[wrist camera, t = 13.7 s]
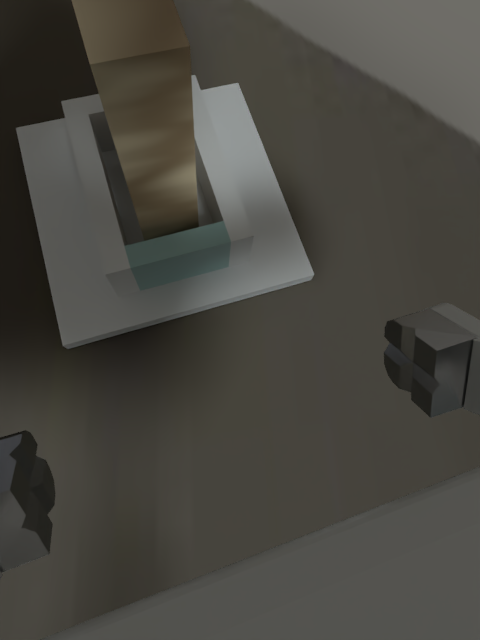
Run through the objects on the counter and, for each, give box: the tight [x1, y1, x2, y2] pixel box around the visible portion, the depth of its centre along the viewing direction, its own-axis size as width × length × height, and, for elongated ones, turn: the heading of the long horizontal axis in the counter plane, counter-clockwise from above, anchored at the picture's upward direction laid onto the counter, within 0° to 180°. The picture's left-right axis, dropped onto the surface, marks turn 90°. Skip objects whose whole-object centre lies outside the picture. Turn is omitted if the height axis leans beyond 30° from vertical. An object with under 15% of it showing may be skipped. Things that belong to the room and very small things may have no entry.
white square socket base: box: [16, 75, 314, 349], centre depth 24 cm, size 14×14×4 cm
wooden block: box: [72, 0, 199, 241], centre depth 19 cm, size 3×6×12 cm, turn 18°
